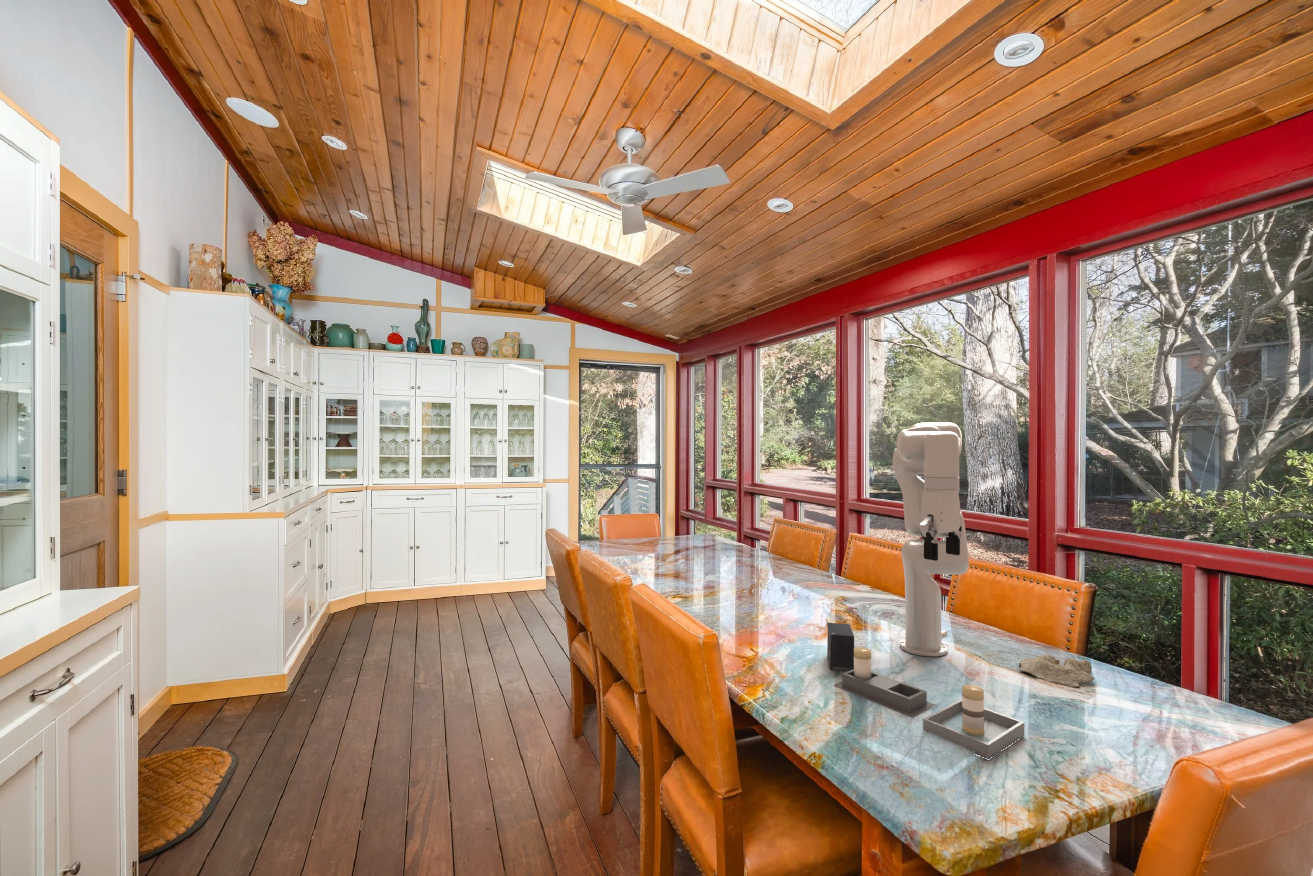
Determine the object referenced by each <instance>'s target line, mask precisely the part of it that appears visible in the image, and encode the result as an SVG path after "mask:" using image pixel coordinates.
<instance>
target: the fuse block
mask: <svg viewBox="0 0 1313 876" xmlns="http://www.w3.org/2000/svg"><path fill="white" fill-rule="evenodd" d="M841 677H842V678H841V681H839V682H837V683H835V684H832V686H833V687H836V688H838V689H841V690H843V691H846V692H847V693H850V694H853V695H855V696H858V697H860V698H863V699H865V700H867V701H870V702H873V703H875V704H877V705H880V706H882V707H885V708H888V709H890V710H891V711H895V712H897V713H900V714H902V715H905V716H907V717H909V718H911V719H913V718H915V717H918V716H919V715H922V714H923V713H925V712H928V711H929V710H931V709H933V708H935V707H937V706H938V704H936V703H932V702H929V701H927V699H928V697H927V694H928V693H927V691H926V690H924V689H921V688H919V687H916V686H913V685H911V684H908V683H905V682H902V681H899V680H897V679H894V678H891V677H889V676H885V675H882V674H879V673H877V672H874V671H872V670H871V679H869V680H866V681H865V680H862V679H859V678H857V677H854V669H853V670H850V671H847V672H846V671H844V672H843V673H841Z"/></svg>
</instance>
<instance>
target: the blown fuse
mask: <svg viewBox="0 0 1313 876" xmlns="http://www.w3.org/2000/svg"><path fill="white" fill-rule="evenodd" d="M961 700H962V710H961V712H962V713H961V717H962V718H961V721H962V722H961V724H962V727H961V729H962V730H963V731H964V732H965V733H966V734H968V735H973V736H982V735H984V734H985V719H984V708H985V689H984V688H982V687H981V686H978V685H973V684H963V685H962V686H961Z"/></svg>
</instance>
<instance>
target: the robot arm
mask: <svg viewBox="0 0 1313 876" xmlns="http://www.w3.org/2000/svg"><path fill="white" fill-rule="evenodd" d="M962 435H963V434H962V431H961V429H960V427H959V426H958V425H957V424H956V423H954V422H920V423H919V422H918V423H915V424H912V425H911V426H910V427H909V428H907V429H905V428H904V429H902V430H900V431H899V433H898V435H897V439H896V450H895V451H894V452H893V455H892V468H893V472H894V477H895V479H896V481H897V483H898V485H899V487H900V490H901V493H902V494H901V495H902V501H903V502H902V505H903V517H904V525H905V530H906V532H907V534H908V535H909V536H913V537H917V538H920V539H911V540H907V541H906V542H905V543H903V544H902V546H901V551H900V552H901V560H902V566H903V567H902V568H903V573H904V605H905V607H904V610H905V612H904V614H905V615H904V619H905V621H904V623H905V625H904V629H905V633H904V635H905V637H904V638H903V639H901V640H900V641H899V647H900V649H901V650H903V651H905V652H907V653H910V654H913V655H917V656H922V657H941V656H944V655H947V653H948V647H947V645H946V644H944V643H942V640H943V639H944V638H947V636H948V632H947V631H946V630H942V590H941V588H940V585H939V584H938V582H937V581H936V580H935V579H934V578H933V577H932V576H931V575H954V576H956V575H958V576H959V575H961V576H962V575H964V574H966V573H967V572H968V570H969V566H970V558H969V557H970V556H969V547H968V541H967V540H968V539H967V534H966V533H967V532H966V524H965V518H964V515H963V513H962V511H961V505H960V504H961V503H960V502H961V501H960V495H959V492H960V455H961V454H962V448H963V446H962V444H963V436H962ZM918 475H923V479H922V478H921V477H920V476H918ZM921 538H922V539H921ZM938 539H945V540H938Z"/></svg>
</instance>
